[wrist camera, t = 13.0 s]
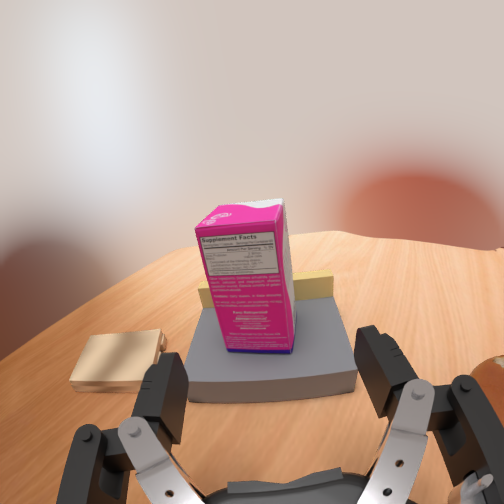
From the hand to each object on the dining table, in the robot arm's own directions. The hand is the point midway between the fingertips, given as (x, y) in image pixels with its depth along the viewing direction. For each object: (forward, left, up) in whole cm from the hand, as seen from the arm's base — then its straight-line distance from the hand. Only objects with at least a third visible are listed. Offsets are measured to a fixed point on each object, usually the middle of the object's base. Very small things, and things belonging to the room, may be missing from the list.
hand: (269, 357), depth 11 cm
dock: (-1, +11, -11) cm, 15 cm away
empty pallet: (-17, +9, -11) cm, 22 cm away
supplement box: (-1, +11, -8) cm, 13 cm away
